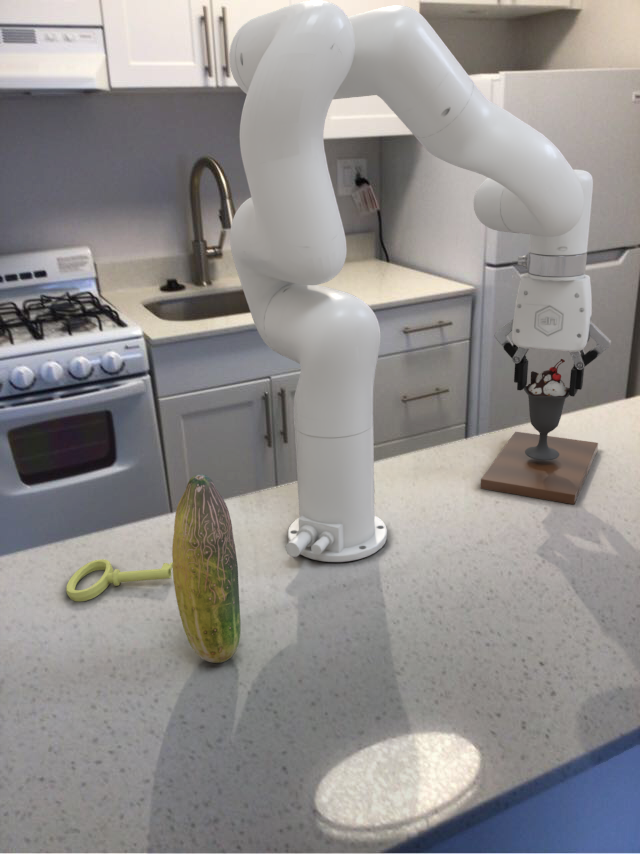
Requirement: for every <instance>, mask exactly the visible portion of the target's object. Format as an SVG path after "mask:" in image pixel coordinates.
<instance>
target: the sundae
mask: <svg viewBox="0 0 640 854" xmlns="http://www.w3.org/2000/svg"><path fill="white" fill-rule="evenodd" d="M565 362H566V360H565V359H564V358H560V360H559V361H558V362H557V363H556V364H555V365H554V366H551V367H549V369H547V370H543V371H541V372H537V371H533V370H532V371H530V383H527V385H526V386H525V387H524V389H523V390H524V392H525V393H526V394H527V396H528V407H529V409H528V410H529V420H530V425H531V426H532V427H533V429H534V430H536V431H537V432H538V434H539V435H540V437H539V443H538V445H537V446H535V447H530V448H527V449H526V450H525V454H526V455H527V456H528V457H530V458H533V459H537V460H553V459H556V458H557V457H559V452H558V451H557V450H555V449H552V448H549V447H548V445H547V436H549V435H548V434H549V433H550V432H552V431H554V430H555V429H556V428H557V427H559V424H560V421H561V418H562V414H563V410H564V405H565V402H566V398H568V397H569V396H570V395H569V387H567V386H566V384H565V382H564V381H563V380H562V375H561V374H560V373H559V372H558V368H559V367H560V365H562V364H564V363H565Z"/></svg>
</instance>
